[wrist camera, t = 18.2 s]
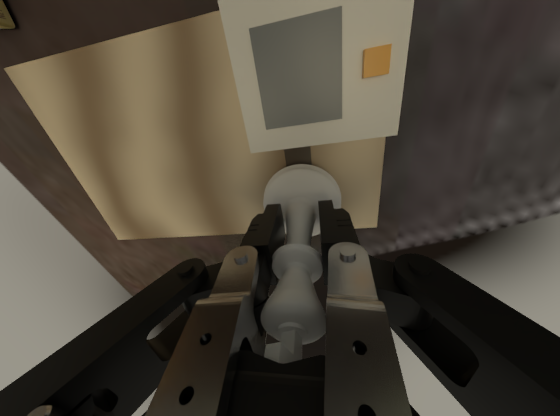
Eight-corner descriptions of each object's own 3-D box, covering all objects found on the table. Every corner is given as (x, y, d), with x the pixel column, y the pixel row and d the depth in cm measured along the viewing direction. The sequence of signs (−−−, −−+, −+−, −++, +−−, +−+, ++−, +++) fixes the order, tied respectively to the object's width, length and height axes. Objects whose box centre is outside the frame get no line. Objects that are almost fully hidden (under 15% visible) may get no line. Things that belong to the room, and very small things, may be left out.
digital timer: (380, -3, 8) (426, -63, 5) (372, 123, 11) (399, 136, 8) (246, 30, 10) (214, -3, 6) (265, 138, 12) (249, 155, 9)
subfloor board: (392, -24, 9) (403, -41, 8) (372, 218, 15) (377, 228, 14) (28, 70, 13) (1, 68, 12) (128, 232, 19) (117, 240, 18)
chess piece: (320, 148, 11) (360, 335, 2) (353, 216, 13) (441, 460, 4) (249, 186, 13) (126, 374, 4) (287, 241, 15) (255, 452, 6)
